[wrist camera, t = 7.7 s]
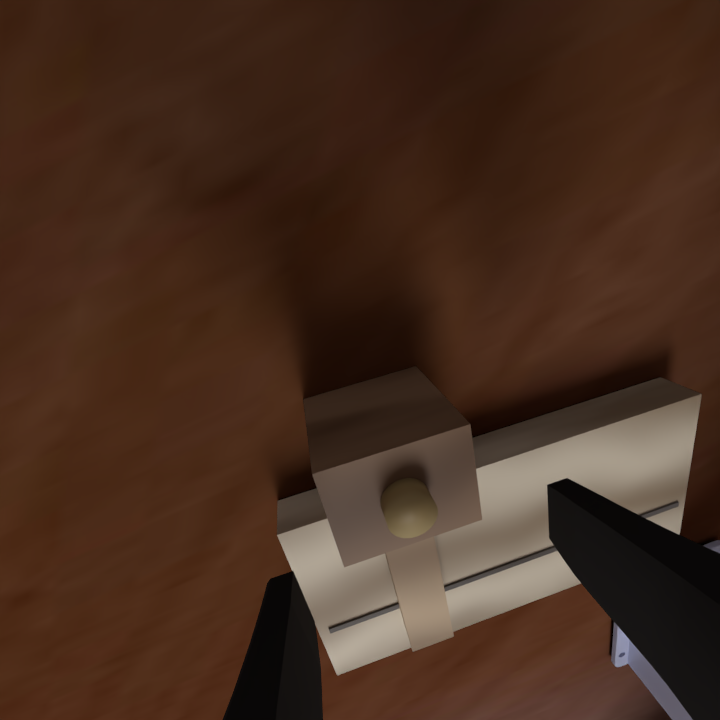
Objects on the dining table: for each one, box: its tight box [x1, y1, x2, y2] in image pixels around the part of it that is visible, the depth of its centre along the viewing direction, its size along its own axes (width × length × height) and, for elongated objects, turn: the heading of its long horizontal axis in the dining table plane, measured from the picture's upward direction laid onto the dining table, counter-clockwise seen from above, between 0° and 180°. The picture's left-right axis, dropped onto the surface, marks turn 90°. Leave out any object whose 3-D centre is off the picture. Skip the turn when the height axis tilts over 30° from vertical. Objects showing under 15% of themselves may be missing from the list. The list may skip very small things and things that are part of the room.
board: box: [277, 377, 702, 675], centre depth 19 cm, size 10×20×2 cm, turn 103°
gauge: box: [303, 366, 482, 652], centre depth 15 cm, size 12×5×6 cm, turn 13°
